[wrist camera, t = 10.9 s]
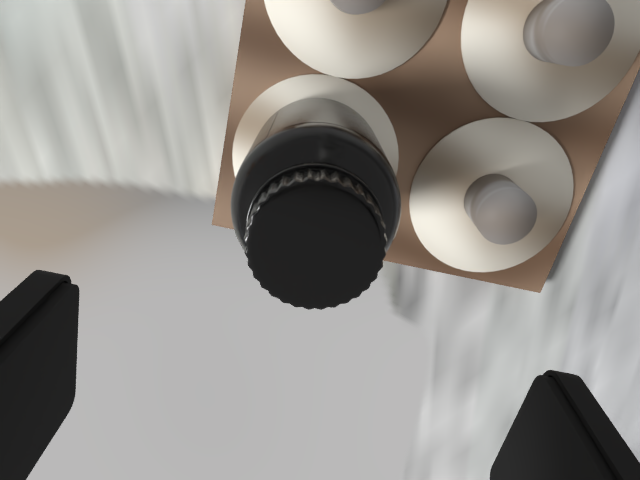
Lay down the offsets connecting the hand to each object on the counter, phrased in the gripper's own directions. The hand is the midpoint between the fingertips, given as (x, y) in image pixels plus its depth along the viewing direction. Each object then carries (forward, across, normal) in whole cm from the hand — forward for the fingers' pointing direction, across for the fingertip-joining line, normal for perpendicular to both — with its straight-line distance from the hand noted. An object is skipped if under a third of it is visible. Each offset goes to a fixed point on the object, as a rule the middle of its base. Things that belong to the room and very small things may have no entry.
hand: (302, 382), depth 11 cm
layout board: (+20, -5, -4) cm, 21 cm away
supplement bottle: (+19, 0, 0) cm, 19 cm away
